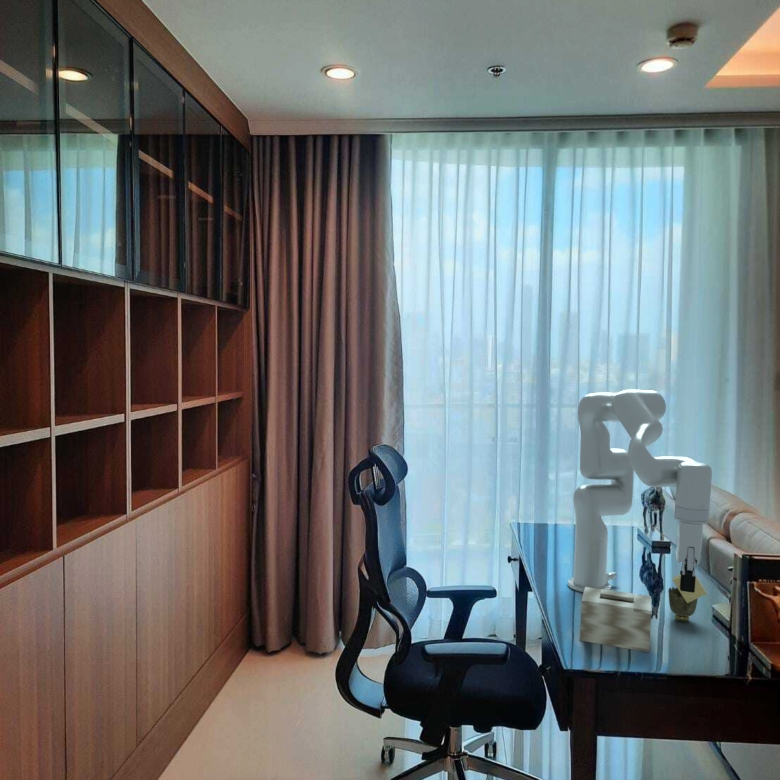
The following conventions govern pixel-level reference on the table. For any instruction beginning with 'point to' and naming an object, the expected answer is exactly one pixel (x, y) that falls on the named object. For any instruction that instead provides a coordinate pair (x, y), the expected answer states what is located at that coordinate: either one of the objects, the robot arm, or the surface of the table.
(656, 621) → the table surface
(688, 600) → the yellow flat block
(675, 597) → the cup
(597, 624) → the box
